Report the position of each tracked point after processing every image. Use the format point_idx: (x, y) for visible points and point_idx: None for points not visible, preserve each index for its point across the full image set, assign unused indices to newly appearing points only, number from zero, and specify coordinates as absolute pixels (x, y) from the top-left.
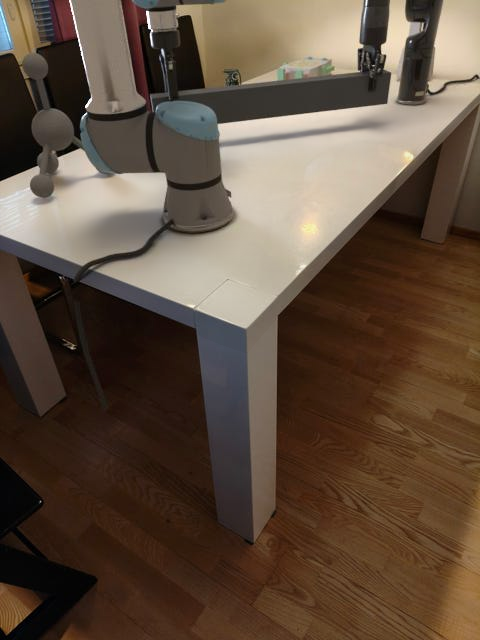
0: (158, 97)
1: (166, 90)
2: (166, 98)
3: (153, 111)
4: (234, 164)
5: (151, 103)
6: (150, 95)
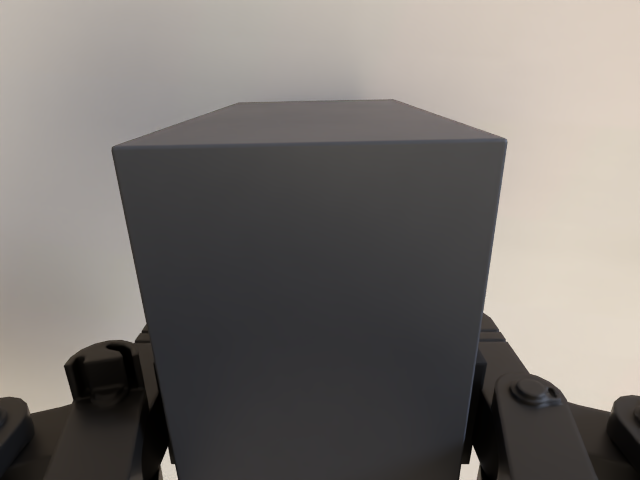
0: (157, 278)
1: (506, 449)
2: (164, 379)
3: (227, 117)
4: (52, 408)
5: (416, 120)
6: (399, 140)
